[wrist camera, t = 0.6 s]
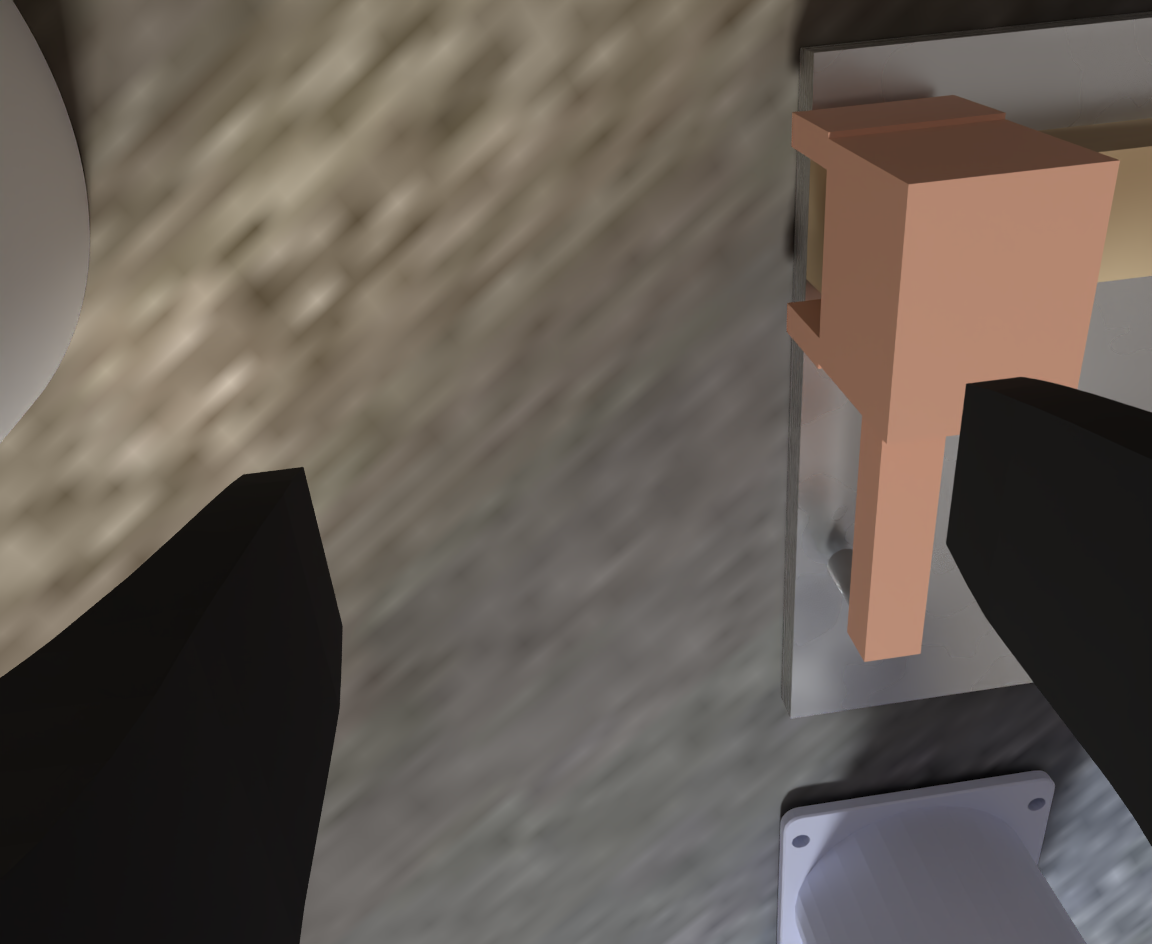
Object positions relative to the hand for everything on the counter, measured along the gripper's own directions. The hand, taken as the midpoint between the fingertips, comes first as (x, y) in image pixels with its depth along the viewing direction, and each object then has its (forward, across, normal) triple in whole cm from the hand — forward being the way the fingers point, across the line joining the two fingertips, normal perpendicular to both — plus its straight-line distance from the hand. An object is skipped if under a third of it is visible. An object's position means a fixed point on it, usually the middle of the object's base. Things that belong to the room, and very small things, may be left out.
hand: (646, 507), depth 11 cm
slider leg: (+9, -6, +3) cm, 11 cm away
